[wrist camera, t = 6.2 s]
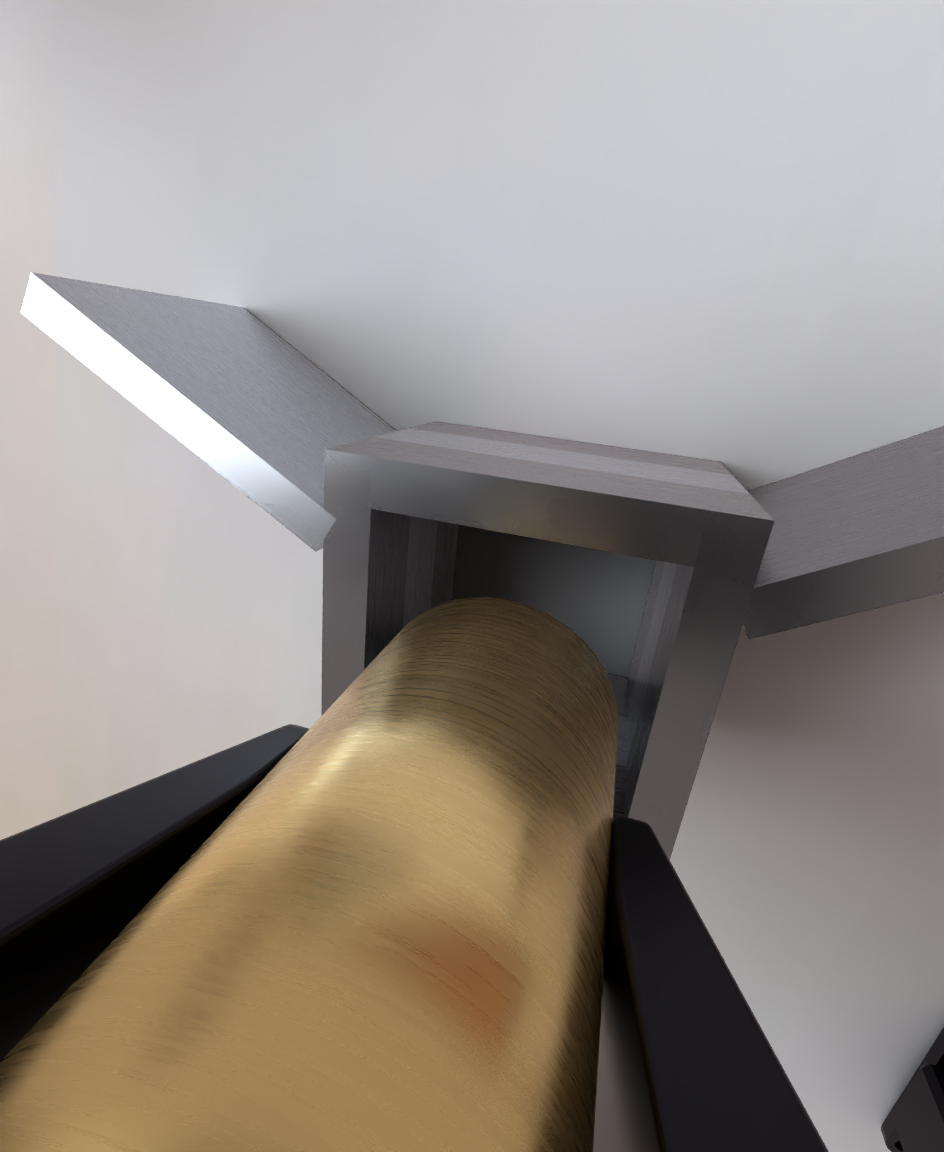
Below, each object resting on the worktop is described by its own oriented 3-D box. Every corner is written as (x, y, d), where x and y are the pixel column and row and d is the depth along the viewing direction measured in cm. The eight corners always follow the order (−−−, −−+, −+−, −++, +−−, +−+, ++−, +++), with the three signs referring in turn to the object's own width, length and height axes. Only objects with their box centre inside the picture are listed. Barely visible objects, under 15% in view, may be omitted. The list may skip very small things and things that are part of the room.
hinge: (1071, 393, 12) (1462, 413, 6) (895, 769, 15) (1043, 997, 10) (230, 306, 16) (13, 270, 10) (244, 616, 19) (87, 713, 14)
